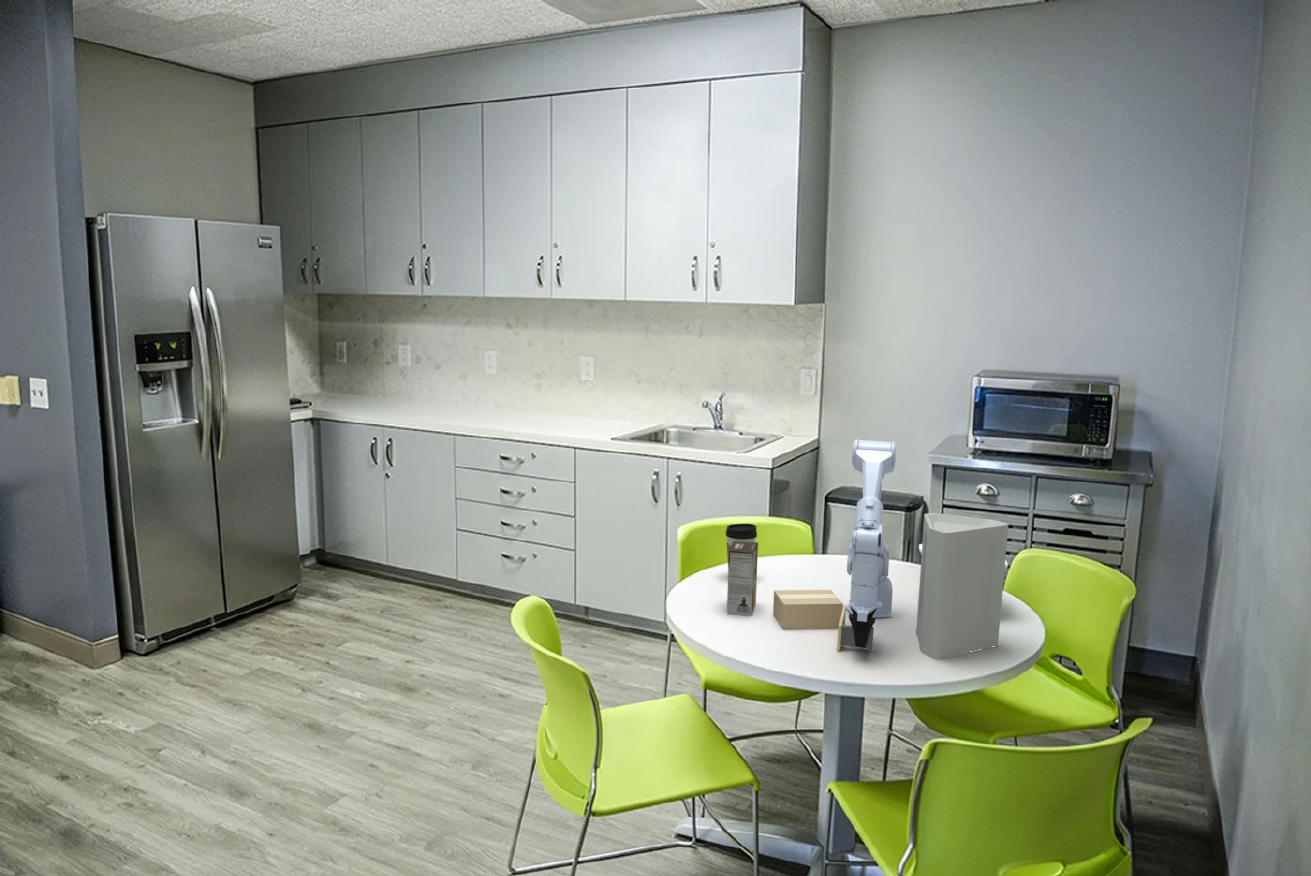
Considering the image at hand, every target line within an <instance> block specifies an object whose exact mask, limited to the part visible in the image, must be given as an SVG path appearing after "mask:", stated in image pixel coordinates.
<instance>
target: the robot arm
mask: <svg viewBox="0 0 1311 876" xmlns="http://www.w3.org/2000/svg"><path fill="white" fill-rule="evenodd" d="M851 453H852V454H851V455H852V456H851V463H852V467H853V468H854V470H856V471H858V472H860V473H861V474H862V498H861V499H859V500H858V501H857V502H856V508H855V509H856V511H855V520H854V529H852V532H851V541H850V544H849V545H848V552H847V559H846V560H847V561H846V562H847V563H846V573H847V575H849V576H851V581H850V595H849V596H850V597H849V598H850V599H849V600H848V602H849V603H848V604H845V605H846V611H848V612H849V613H848V621H850V624H851V626H852V627H853V631H854V639H855V645H856V647H855V648H857V647H863V648H862V649H865V647H866V645H867V641H868V637H869V633H870V630H871V628H872V627H874V625H875V624H876V621H877V618H893V615H892V607H893V606H892V605H893V593H894V592H893V584H892V581H891V579H890V578H889V566H890V563H889V562H890V548H889V545H888V544H887V543H885V542H884V531H883V514H884V512H883V511H884V504H883V503H882V501H881V500H882V487H883V486H882V485H883V482H882V481H883V479H884V478H885V475H887V474H890V473H893V472H894V470H895V467H896V458H897V457H896V456H897V443H896V441H881V440H866V439H863V440H862V439H858V438H856V439H855V440H854V441H853V444H852V452H851Z"/></svg>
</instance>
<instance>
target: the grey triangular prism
mask: <svg viewBox="0 0 1311 876" xmlns="http://www.w3.org/2000/svg"><path fill="white" fill-rule="evenodd" d="M922 530H923V531H922V543H921V544H922V555H920V557H921V558H920V560H921V561H920V575H919V586H918V602H917V603H918V604H917V615H916V616H917V617H916V631H915V632H916V633H915V634H916V637H917V642H918V646H919V649H920V653H921V652H922V653H921V654H923V655H925V656H928V657H929V658H931V659H932V660H937V659H938V660H943V659H947V657H948V658H952V657H956V655H957V656H961V655H964V654H963V653H966V654H968V653H967V652H970V651H975V650H979V649H984V650H986V649H985V648H988V649H991V648H990V647H992V646H997V645H998V646H999V637H1000V627H1001V625H1000V624H1001V616H1002V615H1001V613H1002V605H1003V604H1002V603H1003V592H1004V591H1003V589H1004V582H1005V581H1004V580H1005V579H1004V578H1005V571H1004V569H1005V560H1006V553H1007V545H1008V544H1007V542H1008V532H1009V523H1006V522H1003V521H999V520H997V519H991V518H990V519H989V518H984V517H983V518H982V517H981V518H980V517H972V516H962V515H955V514H945V513H937V512H931V513H924V515H923V529H922ZM998 646H997V647H998ZM979 651H980V650H979ZM975 652H976V651H975ZM970 653H971V652H970ZM960 654H961V655H960ZM951 656H952V657H951ZM942 658H943V659H942Z"/></svg>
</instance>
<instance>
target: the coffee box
mask: <svg viewBox="0 0 1311 876" xmlns="http://www.w3.org/2000/svg"><path fill="white" fill-rule="evenodd" d="M758 549H759V542H757V541H755V542H742V541H733V543H732V545H731V547H730V549H729V562H728V561H727V567H728V568H727V595H726V597H727V599H726V614H727V615H735V616H736V615H738V616H747V617H749V616H750V617H752V616H753V613H754V612H755V608H756V604H757V581H758V576H757V575H758Z"/></svg>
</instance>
